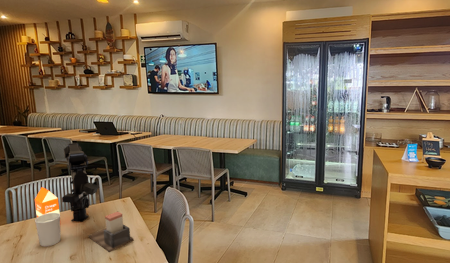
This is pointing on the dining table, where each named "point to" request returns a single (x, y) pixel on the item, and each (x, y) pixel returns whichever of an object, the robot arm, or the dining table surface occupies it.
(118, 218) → the switch lever
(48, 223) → the white cup
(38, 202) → the orange juice
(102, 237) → the switch base
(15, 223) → the dining table surface
